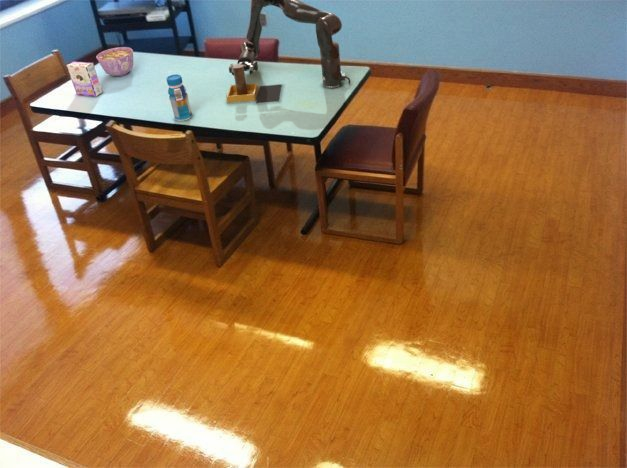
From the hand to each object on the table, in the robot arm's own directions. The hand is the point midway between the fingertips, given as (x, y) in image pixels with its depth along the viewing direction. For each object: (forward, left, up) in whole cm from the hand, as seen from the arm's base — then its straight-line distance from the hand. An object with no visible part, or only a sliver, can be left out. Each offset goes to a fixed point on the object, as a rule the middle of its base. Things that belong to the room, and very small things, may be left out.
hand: (241, 73), depth 294 cm
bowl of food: (+76, -38, -10) cm, 86 cm away
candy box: (+85, -12, -10) cm, 87 cm away
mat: (-13, +6, -10) cm, 17 cm away
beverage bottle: (+26, +26, -10) cm, 38 cm away
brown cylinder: (0, +6, -9) cm, 11 cm away
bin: (0, +6, -10) cm, 12 cm away
